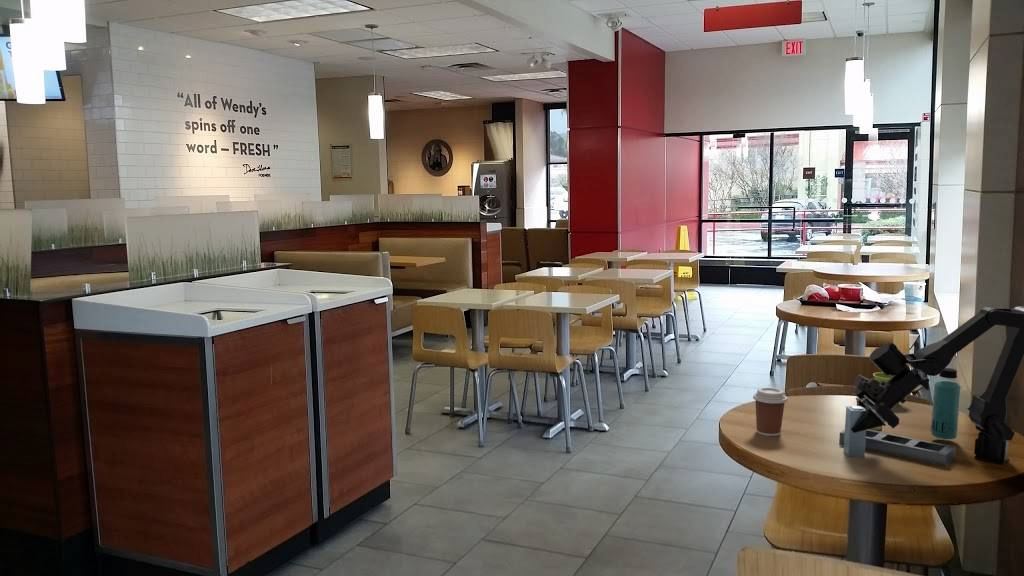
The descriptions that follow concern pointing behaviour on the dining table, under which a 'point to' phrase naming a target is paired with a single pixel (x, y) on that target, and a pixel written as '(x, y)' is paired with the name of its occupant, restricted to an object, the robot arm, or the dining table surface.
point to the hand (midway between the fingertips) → (849, 428)
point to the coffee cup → (769, 410)
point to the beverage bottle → (945, 406)
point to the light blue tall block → (854, 441)
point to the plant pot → (882, 376)
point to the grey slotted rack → (907, 447)
